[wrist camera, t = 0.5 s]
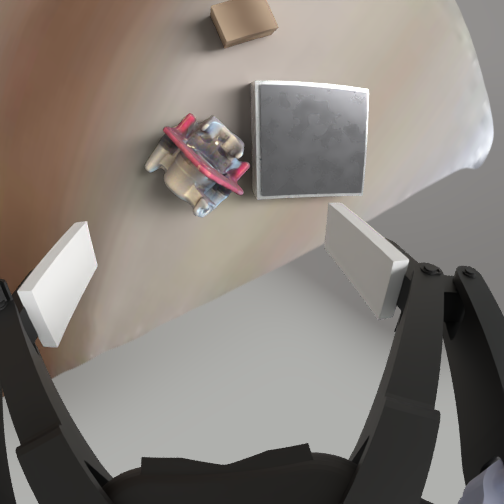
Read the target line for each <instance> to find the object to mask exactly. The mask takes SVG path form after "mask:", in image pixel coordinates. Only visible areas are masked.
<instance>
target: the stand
mask: <svg viewBox="0 0 504 504" xmlns="http://www.w3.org/2000/svg"><path fill="white" fill-rule="evenodd" d="M250 85H251V138H252V192H253V193H254V195H255V197H256V199H257V200H258V199H275V198H296V197H322V196H363V187H364V176H365V164H366V150H367V132H368V104H369V89H363V88H356V87H349V86H341V85H332V84H321V83H309V82H293V81H260V80H255V81H253V82H251V83H250Z"/></svg>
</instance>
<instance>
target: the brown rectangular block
mask: <svg viewBox="0 0 504 504" xmlns="http://www.w3.org/2000/svg"><path fill="white" fill-rule="evenodd" d="M210 16H211V18H212V21H213V23H214V25H215V27H216V30H217V32H218V34H219V37H220V39H221V41H222V44H223V46H224V48H228V47H231V46H234V45H237V44H240V43H243V42H247V41H250V40H254V39H257V38H261V37H264V36H268V35H271V34H272V33H273V32H274V31H275V30H276V29H277V28H278V25H277V23H276V20H275V18H274V16H273V14H272V11H271V9H270V7H269V5H268V3H267V0H230V1H226V2H223V3H219V4H216V5H213V6H211V13H210Z"/></svg>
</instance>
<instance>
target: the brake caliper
mask: <svg viewBox="0 0 504 504" xmlns="http://www.w3.org/2000/svg"><path fill="white" fill-rule="evenodd" d="M163 131H164V133H165V135H164V136H163V137H162V138H161V140H160V142H159V144H158V145H157V147H156V148H155V150H154V151H153V153H152V154H151V156H150V157H149V158H148V160H147V162H146V164H145V169H146V170H147V171H148V172H153V171H155V170H157V169H159V168H162V169H164V171H165V172H166V173H165V174H164V182H165V184H166V186H167V187H168V188H169V189H170V190H171V191H172V192H173V193H174V194H175V195H176V196H177V197H179V198H180V199H182V200H184V201H186V202H189V203H190V205H191V206H192V207H193V208H194V209H193V213H194V215H195V216H198V217H204V216H206V215H207V214H209V213H210V212H211V211H212V210H214V209H215V208H216V207H217V206H218V204H219V203H220V202H222V201H223V200H224V199H226V198H227V197H228V196H229V194H230V193H231V192H235V193H236V194H239V195H242V194H243V190H242V188H240V186H239V185H238V184H237V182H238V180H239V178H240V177H241V176H242V175H243V174H244V173H245V172H246V171H247V170H248V169H249V167H250V164H249V163H248V162H240V161H238V160H237V159H239V158H240V157H241V156H242V155H243V151H244V142H243V141H242V140H241V139H240V138H239V137H238V136H237V135H235V134H234V133H232V132H231V131H230V130H229V129H227V127H226V126H225V125H224V124H223V123H222V122H221V121H220V120H219V119H217V118H216V117H215V116H213V115H212V116H211V117H210V118H208V119H207V120H206V121H204V122H202V123H197V121H196V117H195V116H194V115H193V114H191V113H189V114H188V115H187V116H186V117H184V118H183V120H182V122H181V123H179V124H178V125H177V126H174V127H172V128H170V127H165V128H164V129H163Z"/></svg>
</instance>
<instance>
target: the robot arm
mask: <svg viewBox="0 0 504 504" xmlns="http://www.w3.org/2000/svg"><path fill="white" fill-rule="evenodd" d="M324 248H325V249H326V251H327V252H328V253H329V255H330V256H331V257H332V259H333V260H334V261H335V263H336V264H337V265H338V267H339V268H340V269H341V270H342V272H343V273H344V274H345V276H346V277H347V278H348V280H349V281H350V282H351V284H352V285H353V286H354V287H355V289H356V290H357V292H358V293H359V294H360V296H361V297H362V298H363V300H364V301H365V303H366V304H367V305H368V307H369V308H370V310H371V311H372V312H373V313H374V315H375V316H376V318H377V319H378V320H381V319H386V318H391V317H393V315H394V312H395V309H396V306H398V307H399V308H400V309H401V314H400V317H399V320H398V323H397V326H396V328H395V336H394V340H393V343H392V347H391V350H390V354H389V357H388V360H387V364H386V367H385V370H384V373H383V377H382V380H381V382H380V385H379V388H378V391H377V394H376V397H375V399H374V403H373V405H372V408H371V410H370V413H369V416H368V418H367V421H366V423H365V426H364V428H363V430H362V433H361V435H360V438H359V440H358V442H357V445H356V446H355V449H354V451H353V452H352V454H351V456H350V458H349V460H347V459H345V458H342V457H339V456H336V455H331V454H326V453H312V452H311V451H310V448H309V445H308V443H306V444H301V445H296V446H292V447H286V448H281V449H274V450H268V451H265V452H262V453H260V454H257V455H254V456H252V457H249V458H246V459H243V460H240V461H237V462H234V463H231V464H227V465H220V464H213V463H207V462H201V461H195V460H190V459H185V458H150V457H142V460H141V467H139V468H135V469H132V470H129V471H126V472H124V473H122V474H120V475H118V476H116V477H114V478H112V476H111V475H110V474H109V473H108V472H107V471H106V470H105V468H104V467H103V466H102V465H101V463H100V462H99V460H98V459H97V458H96V456H95V454H94V453H93V451H92V450H91V448H90V447H89V445H88V444H87V443H86V441H85V439H84V437H83V436H82V435H81V433H80V431H79V429H78V428H77V426H76V424H75V423H74V421H73V419H72V418H71V416H70V414H69V412H68V410H67V409H66V407H65V405H64V403H63V401H62V399H61V398H60V395H59V393H58V392H57V390H56V388H55V386H54V383H53V382H52V379H51V377H50V375H49V373H48V371H47V369H46V366H45V364H44V362H43V359H42V357H41V355H40V352H39V350H38V348H37V346H36V344H35V340H36V338H37V336H38V337H39V339H40V341H41V343H42V345H43V347H58V345H59V343H60V341H61V338H62V336H63V334H64V332H65V330H66V327H67V325H68V323H69V321H70V319H71V317H72V315H73V313H74V310H75V308H76V306H77V304H78V302H79V300H80V298H81V296H82V294H83V293H84V291H85V289H86V287H87V285H88V283H89V281H90V279H91V277H92V276H93V274H94V272H95V270H96V268H97V266H98V265H97V262H96V258H95V254H94V250H93V246H92V242H91V238H90V233H89V229H88V224H87V221H84V222H76V223H74V224H73V225H72V226H71V227H70V228H69V230H68V231H67V232H66V233H65V234H64V235H63V236H62V237H61V238H60V239H59V241H58V242H57V243H56V244H55V245H54V246H53V247H52V249H51V250H50V251H49V252H48V253H47V254H46V256H45V257H44V258H43V259H42V260H41V262H40V263H39V264H38V265H37V266H36V268H34V269H33V270H32V271H30V272H29V274H28V275H27V276H26V277H25V279H24V280H23V281H22V282H21V284H20V285H19V286H18V288H17V289H16V290H15V292H14V293H13V294H12V295H11V293H10V290H9V288H8V285H7V283H6V281H5V280H4V279H0V504H16V500H15V497H14V492H13V488H12V483H11V478H10V472H9V466H8V460H7V453H6V446H5V435H4V423H3V404H2V388H3V392H4V396H5V399H6V403H7V406H8V409H9V412H10V415H11V419H12V421H13V424H14V427H15V430H16V433H17V435H18V438H19V441H20V444H21V445H20V446H19V447H17V448H16V454H17V458H18V460H19V463H20V465H21V467H22V469H23V472H24V474H25V476H26V479H27V481H28V483H29V485H30V487H31V489H32V491H33V493H34V495H35V497H36V499H37V501H38V503H39V504H433V503H431V502H429V501H426V500H424V499H422V498H421V496H422V492H423V489H424V486H425V483H426V479H427V475H428V472H429V468H430V465H431V460H432V456H433V452H434V448H435V443H436V438H437V433H438V429H439V423H440V412H439V411H437V410H434V407H435V400H436V394H437V387H438V380H439V372H440V363H441V352H442V339H444V343H445V348H446V352H447V357H448V361H449V366H450V371H451V377H452V382H453V388H454V393H455V400H456V406H457V414H458V423H459V432H460V443H461V457H462V467H463V474H464V479H465V484H466V487H465V489H464V492H463V497H462V498H460V500H459V502H458V504H504V316H503V314H502V312H501V310H500V308H499V306H498V304H497V302H496V300H495V299H494V297H493V295H492V293H491V291H490V290H489V288H488V286H487V284H486V283H485V281H484V279H483V277H482V276H481V274H480V273H479V272H478V271H476V270H475V269H474V268H472V267H470V266H468V267H467V266H459V267H458V268H457V269H456V272H455V275H454V276H446V275H444V274H443V272H442V270H441V269H440V268H438V267H436V266H434V265H432V264H429V263H418V262H417V261H415V260H414V259H413V258H412V257H411V256H410V255H409V254H407V253H405V251H404V250H403V249H401V248H400V247H399V246H398V245H397V244H396V243H394V242H393V241H391V240H389V239H387V238H384V237H383V236H381V235H380V234H379V233H378V232H377V231H376V230H374V229H373V228H372V227H371V226H369V225H368V224H367V223H366V222H365V221H364V220H362V219H361V218H360V217H359V216H357V215H356V214H355V213H354V212H352V211H351V210H350V209H349V208H347V207H346V206H345V205H344V204H342V203H328V214H327V225H326V235H325V245H324Z"/></svg>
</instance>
